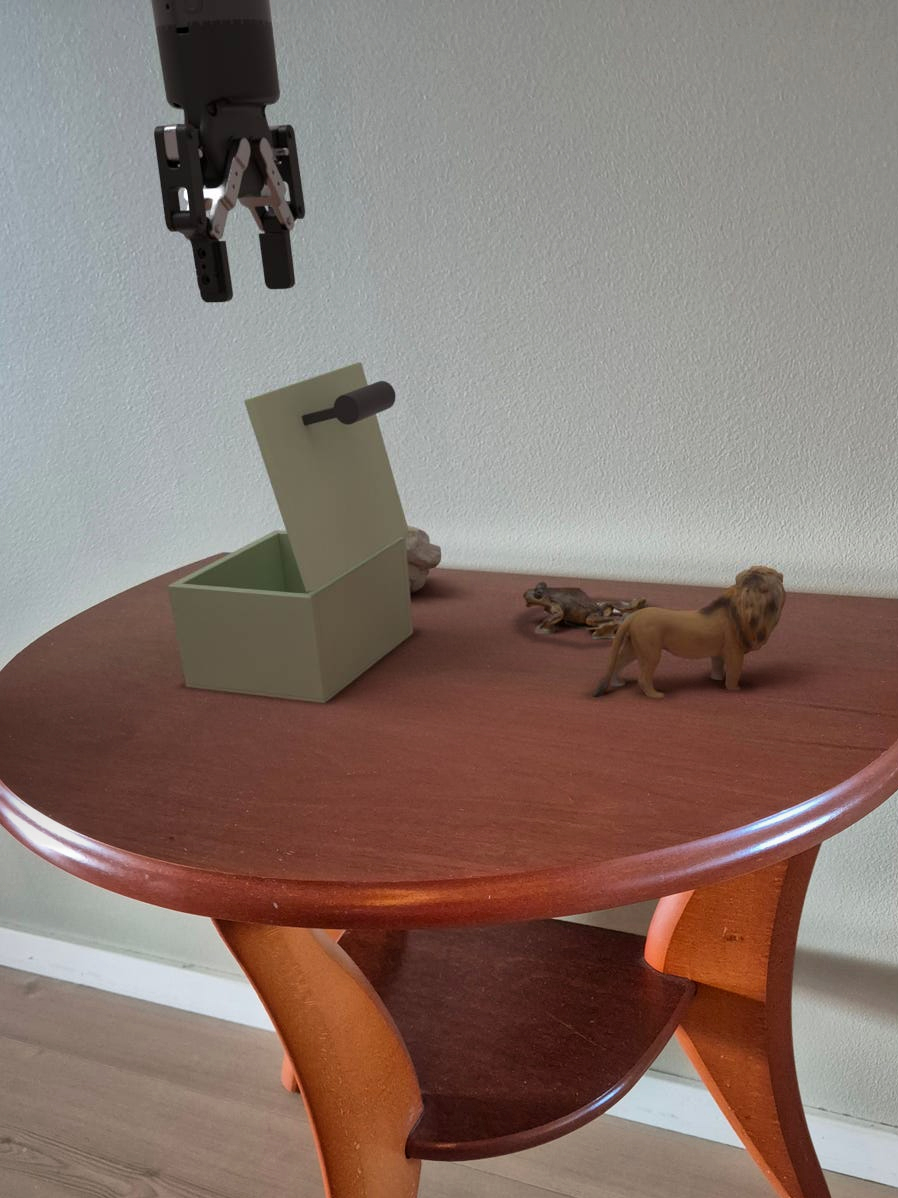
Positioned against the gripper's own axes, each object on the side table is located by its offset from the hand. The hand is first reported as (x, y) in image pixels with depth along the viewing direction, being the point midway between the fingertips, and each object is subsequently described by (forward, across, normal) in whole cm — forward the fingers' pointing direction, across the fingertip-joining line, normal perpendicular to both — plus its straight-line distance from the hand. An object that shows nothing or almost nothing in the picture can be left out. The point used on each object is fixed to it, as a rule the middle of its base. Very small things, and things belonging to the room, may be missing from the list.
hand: (250, 295), depth 85 cm
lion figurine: (+28, -3, +32) cm, 43 cm away
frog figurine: (+28, -14, +20) cm, 38 cm away
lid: (+12, 0, +5) cm, 13 cm away
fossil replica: (+28, -19, -2) cm, 34 cm away
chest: (+28, 0, 0) cm, 28 cm away
